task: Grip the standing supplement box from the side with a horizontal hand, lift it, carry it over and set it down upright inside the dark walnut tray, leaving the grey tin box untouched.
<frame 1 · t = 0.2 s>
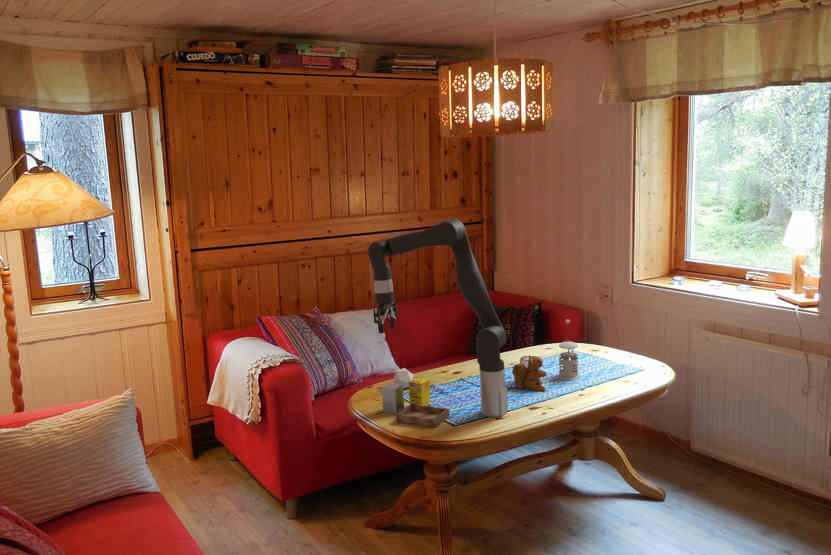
hand: (387, 330, 281), 29 cm above the table, tool pointing down, fingers open, 8 cm apart
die: (403, 387, 300), on the table
supplement box: (420, 407, 275), on the table
walnut tray: (423, 419, 262), on the table
stuffed squirrel: (529, 388, 291), on the table
french press: (569, 376, 303), on the table
grey tin box: (393, 410, 273), on the table
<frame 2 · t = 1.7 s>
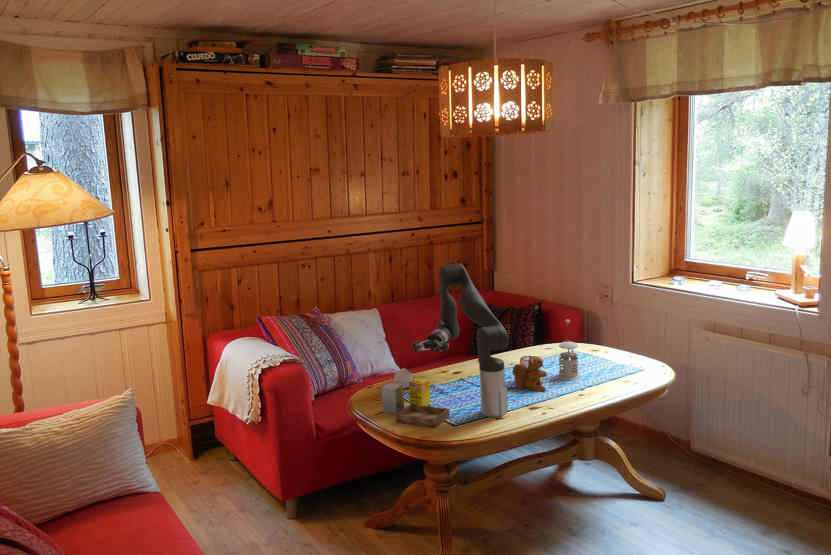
hand: (425, 350, 282), 20 cm above the table, tool horizontal, fingers open, 8 cm apart
nothing on the table moved.
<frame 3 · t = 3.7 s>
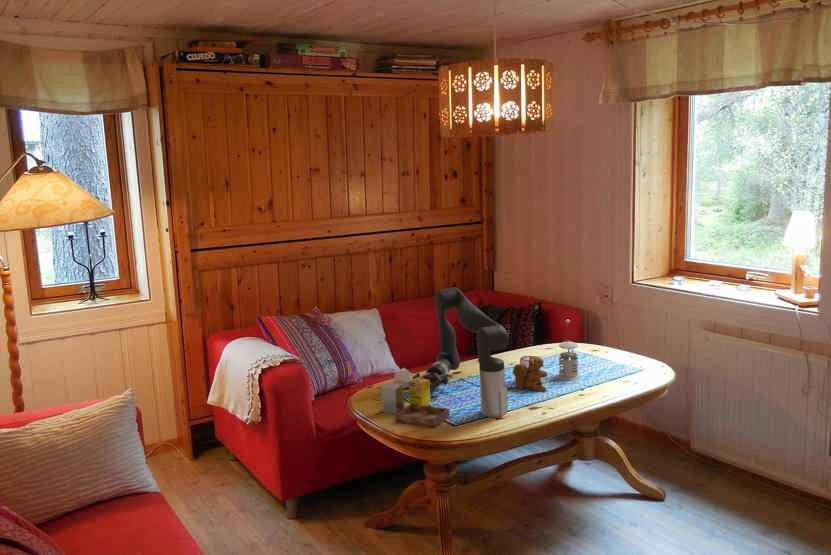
hand: (425, 384, 281), 6 cm above the table, tool horizontal, fingers open, 8 cm apart
nothing on the table moved.
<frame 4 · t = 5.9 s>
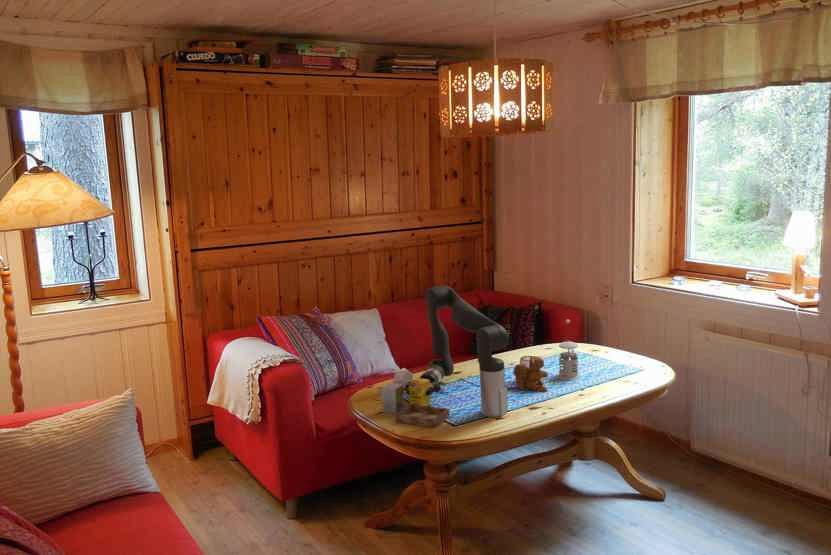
hand: (417, 392, 272), 7 cm above the table, tool horizontal, fingers closed on supplement box, 7 cm apart
supplement box: (420, 407, 275), on the table, touching gripper
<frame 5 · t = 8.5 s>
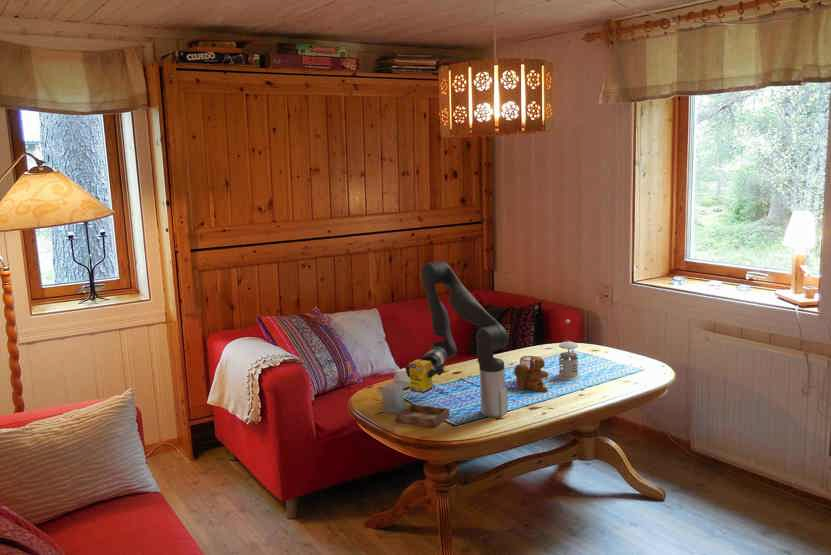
hand: (419, 375, 257), 18 cm above the table, tool horizontal, fingers closed on supplement box, 7 cm apart
supplement box: (421, 390, 260), point 11 cm above the table, touching gripper
when the fingers open (8 cm above the table, at t = 11.4 s): supplement box stays where it is, resting on walnut tray.
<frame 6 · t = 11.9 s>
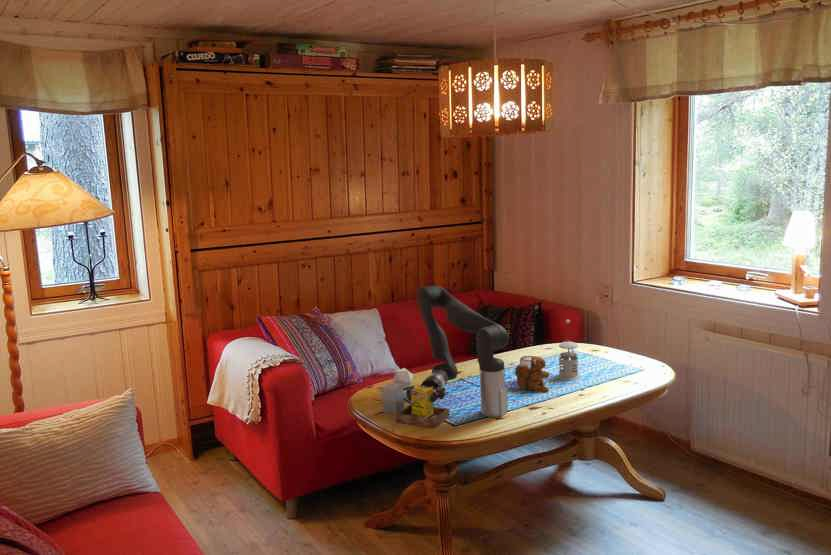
hand: (420, 399, 259), 9 cm above the table, tool horizontal, fingers open, 8 cm apart
supplement box: (423, 417, 262), point 1 cm above the table, touching walnut tray
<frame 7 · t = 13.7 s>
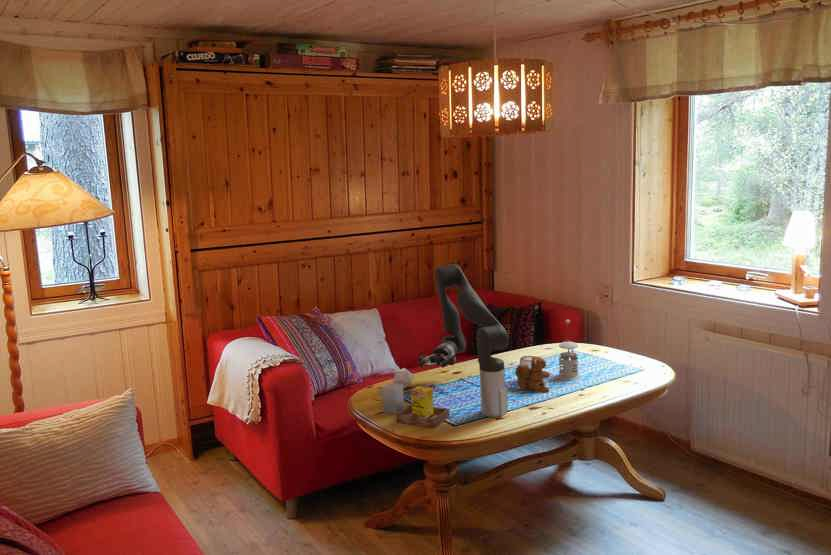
hand: (432, 364, 272), 17 cm above the table, tool horizontal, fingers open, 8 cm apart
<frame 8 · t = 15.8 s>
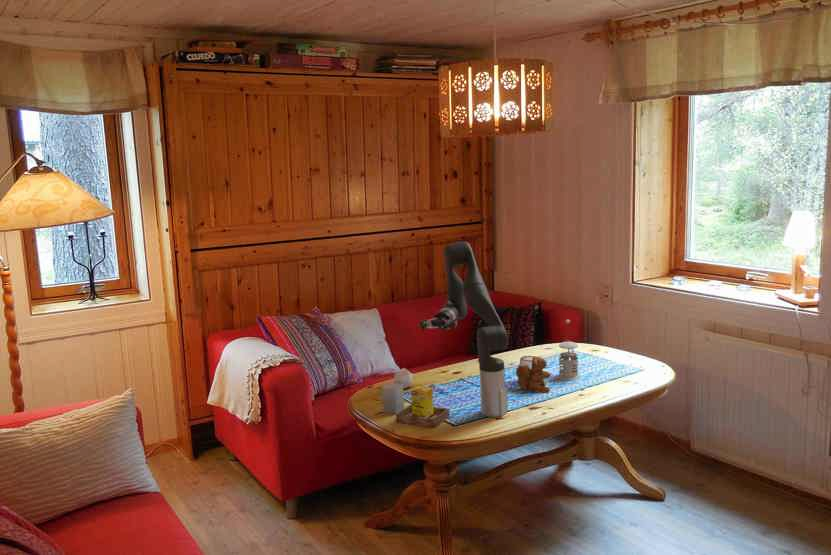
hand: (433, 328, 275), 30 cm above the table, tool horizontal, fingers open, 8 cm apart
at the end: supplement box inside the target area on the walnut tray (0.1 cm from its centre), point 0.6 cm above the walnut tray's base; supplement box tilted 0°; the gripper is holding nothing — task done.
